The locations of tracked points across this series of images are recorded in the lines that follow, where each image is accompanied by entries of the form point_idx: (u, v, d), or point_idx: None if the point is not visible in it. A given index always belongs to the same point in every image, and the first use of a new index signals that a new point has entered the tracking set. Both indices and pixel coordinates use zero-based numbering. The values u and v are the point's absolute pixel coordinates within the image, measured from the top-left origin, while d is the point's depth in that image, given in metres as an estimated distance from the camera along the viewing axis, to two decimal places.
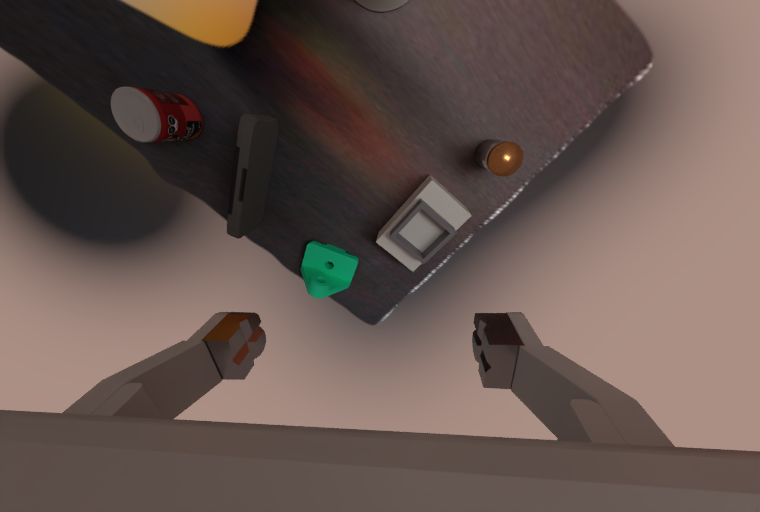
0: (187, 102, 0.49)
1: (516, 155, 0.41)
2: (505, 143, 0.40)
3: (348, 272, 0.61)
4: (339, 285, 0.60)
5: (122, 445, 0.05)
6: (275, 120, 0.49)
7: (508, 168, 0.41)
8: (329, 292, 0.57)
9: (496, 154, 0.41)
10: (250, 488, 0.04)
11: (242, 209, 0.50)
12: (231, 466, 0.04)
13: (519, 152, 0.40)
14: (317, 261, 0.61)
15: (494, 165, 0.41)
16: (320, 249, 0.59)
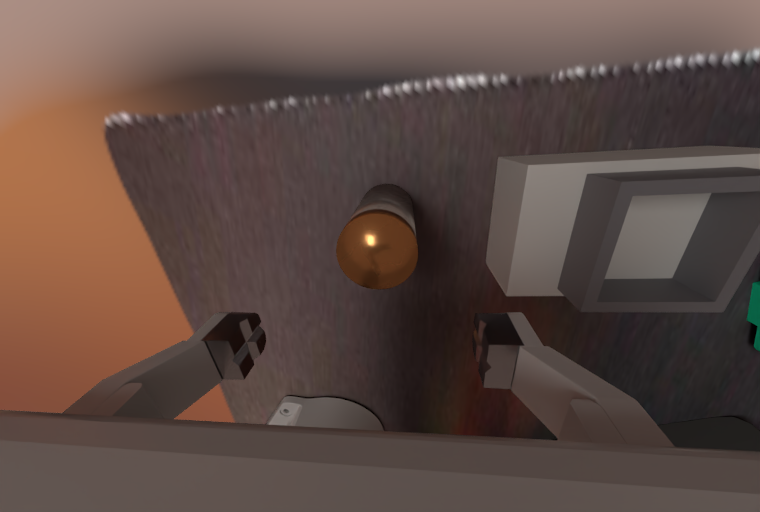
0: None
1: (354, 243, 0.16)
2: (356, 280, 0.17)
3: None
4: None
5: (122, 445, 0.05)
6: None
7: (384, 234, 0.16)
8: None
9: (385, 278, 0.17)
10: (250, 488, 0.04)
11: None
12: (231, 466, 0.04)
13: (344, 244, 0.16)
14: None
15: (404, 263, 0.16)
16: None
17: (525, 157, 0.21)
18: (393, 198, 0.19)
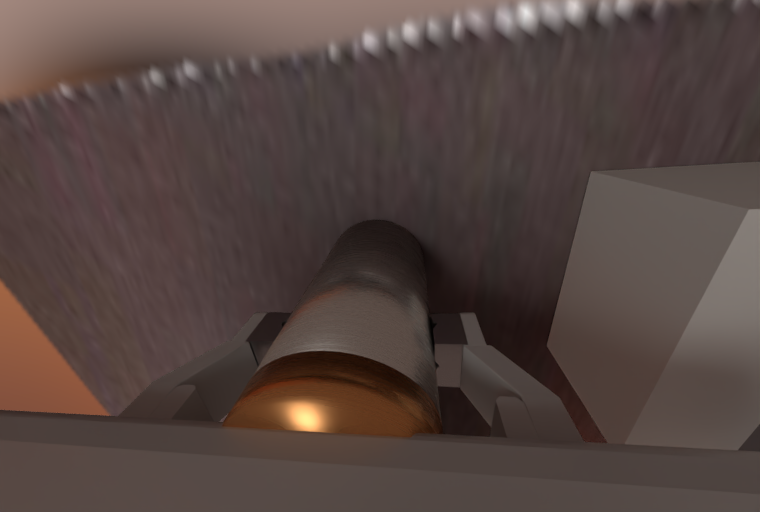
0: None
1: None
2: None
3: None
4: None
5: (122, 445, 0.05)
6: None
7: None
8: None
9: None
10: (250, 488, 0.04)
11: None
12: (231, 466, 0.04)
13: None
14: None
15: None
16: None
17: (661, 174, 0.10)
18: (383, 274, 0.09)
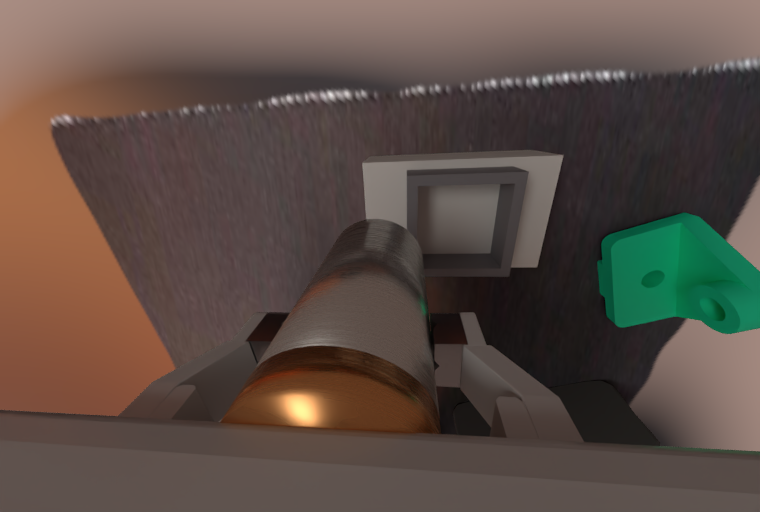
0: None
1: None
2: None
3: (652, 241, 0.27)
4: (705, 251, 0.24)
5: (122, 446, 0.05)
6: (454, 416, 0.42)
7: None
8: (751, 279, 0.22)
9: None
10: (250, 488, 0.04)
11: None
12: (231, 466, 0.04)
13: None
14: (652, 299, 0.30)
15: None
16: (621, 307, 0.31)
17: (384, 156, 0.26)
18: (381, 272, 0.09)
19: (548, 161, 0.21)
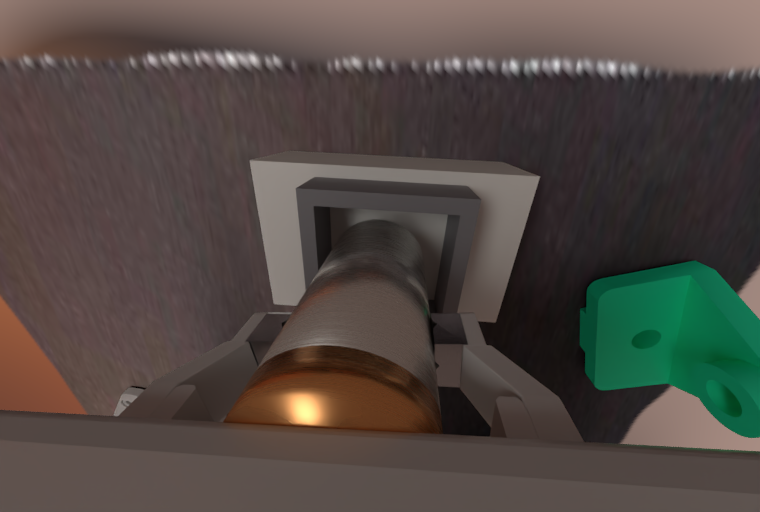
0: None
1: None
2: None
3: (651, 294, 0.21)
4: (720, 319, 0.18)
5: (122, 445, 0.05)
6: None
7: None
8: None
9: None
10: (250, 488, 0.04)
11: None
12: (231, 466, 0.04)
13: None
14: (642, 362, 0.24)
15: None
16: (603, 368, 0.24)
17: (304, 153, 0.19)
18: (383, 272, 0.09)
19: (518, 183, 0.14)
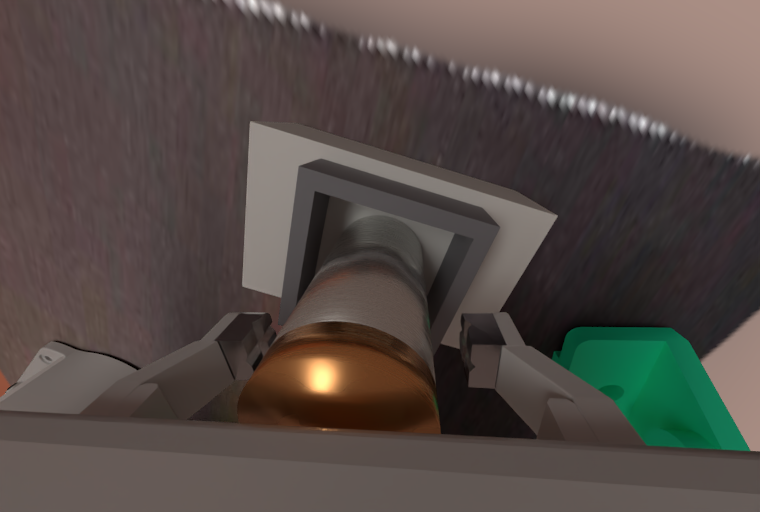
0: None
1: (278, 412, 0.06)
2: None
3: (626, 353, 0.21)
4: (685, 389, 0.19)
5: (122, 445, 0.05)
6: None
7: (352, 400, 0.06)
8: (733, 449, 0.17)
9: None
10: (250, 488, 0.04)
11: None
12: (231, 466, 0.04)
13: (254, 412, 0.06)
14: None
15: None
16: None
17: (312, 130, 0.17)
18: (384, 262, 0.10)
19: (534, 217, 0.14)
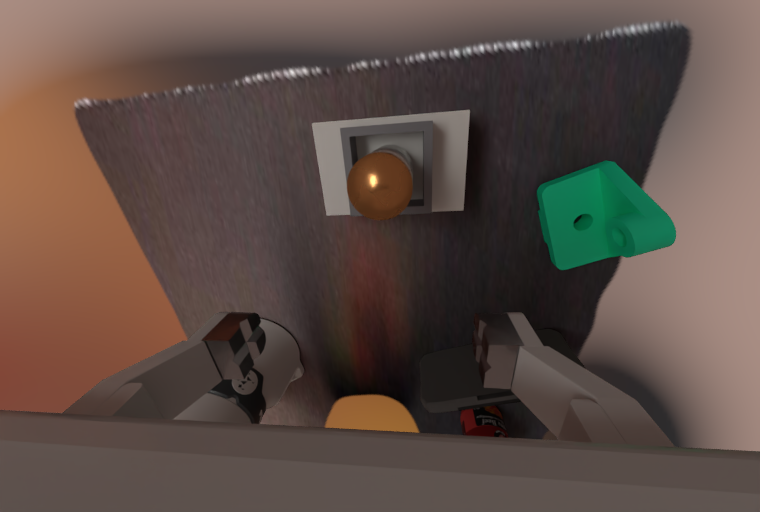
0: (462, 420, 0.52)
1: (359, 186, 0.20)
2: (372, 217, 0.21)
3: (577, 186, 0.31)
4: (615, 190, 0.28)
5: (122, 445, 0.05)
6: (420, 363, 0.47)
7: (379, 169, 0.19)
8: (645, 207, 0.26)
9: (393, 206, 0.21)
10: (250, 488, 0.04)
11: None
12: (231, 466, 0.04)
13: (352, 189, 0.20)
14: (586, 241, 0.34)
15: (402, 187, 0.20)
16: (559, 250, 0.35)
17: None
18: (384, 148, 0.23)
19: (458, 115, 0.26)
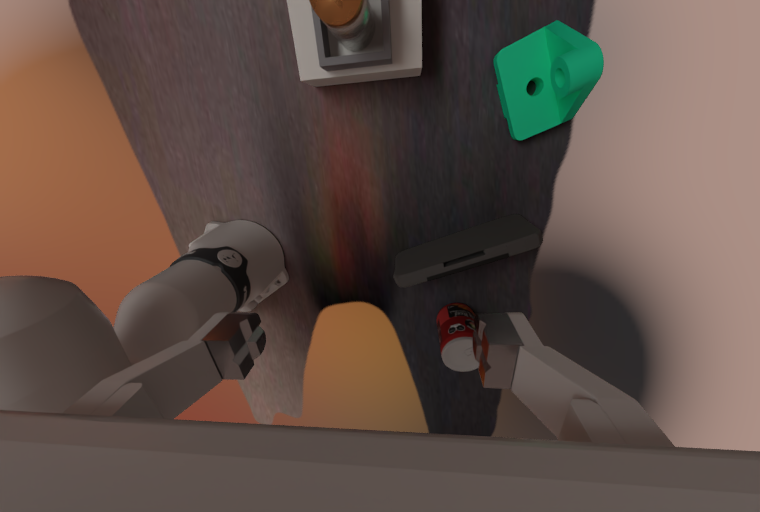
0: (437, 320, 0.55)
1: None
2: (330, 21, 0.25)
3: (526, 48, 0.35)
4: (557, 39, 0.32)
5: (122, 445, 0.05)
6: (395, 257, 0.50)
7: None
8: (579, 42, 0.30)
9: (347, 7, 0.24)
10: (250, 488, 0.04)
11: (493, 245, 0.39)
12: (231, 466, 0.04)
13: None
14: (539, 107, 0.37)
15: None
16: (516, 119, 0.38)
17: None
18: None
19: None
